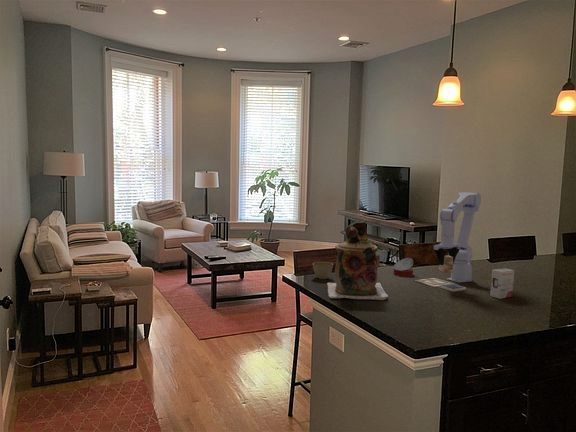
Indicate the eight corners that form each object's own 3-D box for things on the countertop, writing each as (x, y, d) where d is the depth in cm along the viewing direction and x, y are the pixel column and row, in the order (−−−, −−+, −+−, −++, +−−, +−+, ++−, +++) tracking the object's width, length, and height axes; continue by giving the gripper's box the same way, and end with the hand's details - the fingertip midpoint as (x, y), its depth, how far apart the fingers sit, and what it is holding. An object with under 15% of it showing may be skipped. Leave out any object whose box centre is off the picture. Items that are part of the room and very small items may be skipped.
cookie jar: (326, 285, 227) (328, 216, 224) (380, 287, 226) (382, 217, 223) (329, 300, 203) (331, 222, 199) (389, 301, 202) (392, 223, 199)
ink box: (503, 294, 217) (505, 267, 216) (513, 297, 213) (515, 270, 212) (489, 296, 213) (491, 269, 212) (498, 299, 209) (500, 271, 208)
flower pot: (332, 276, 247) (333, 262, 246) (332, 280, 237) (333, 266, 236) (312, 275, 248) (313, 261, 247) (311, 279, 238) (312, 265, 237)
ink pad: (452, 285, 231) (452, 283, 231) (465, 289, 224) (466, 286, 224) (439, 287, 227) (439, 284, 227) (452, 291, 220) (453, 288, 220)
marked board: (435, 279, 245) (435, 277, 245) (454, 284, 233) (455, 283, 233) (414, 281, 239) (414, 280, 239) (434, 287, 227) (434, 286, 227)
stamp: (449, 270, 232) (449, 255, 231) (453, 272, 227) (454, 257, 226) (438, 270, 232) (439, 255, 231) (442, 272, 227) (443, 257, 226)
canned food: (412, 284, 252) (417, 269, 247) (392, 282, 252) (397, 267, 247) (409, 270, 262) (414, 255, 256) (390, 268, 262) (394, 253, 256)
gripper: (452, 233, 235) (451, 261, 236) (429, 234, 228) (428, 263, 229) (464, 235, 228) (462, 264, 230) (440, 236, 222) (439, 266, 223)
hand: (446, 264), depth 229 cm, fingers closed on stamp, 6 cm apart
